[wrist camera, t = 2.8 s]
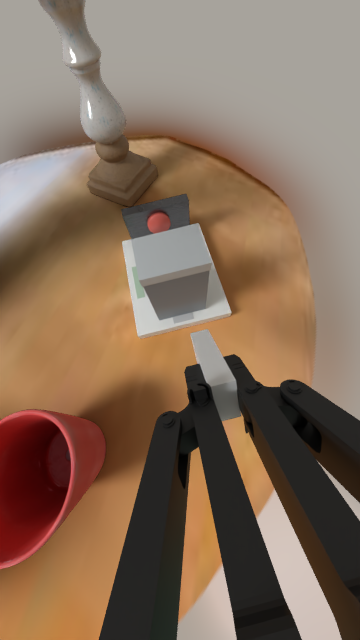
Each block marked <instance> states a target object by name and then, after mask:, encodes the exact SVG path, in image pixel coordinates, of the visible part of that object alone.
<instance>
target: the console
mask: <svg viewBox="0 0 360 640" xmlns="http://www.w3.org/2000/svg"><path fill="white" fill-rule="evenodd" d="M121 211H122V216H123V219H124V221H125V224H126V226H127V229H128V231H129V234H130V236H131V239H135V238H139V237H143V236H147V235H151V234H155V233H159V232H164V231H168V230H172V229H176V228H180V227H184V226H188V225H190V223H189V200H188V197H187V195H186V194H183V195H179V196H175V197H171V198H166V199H162V200H158V201H154V202H150V203H146V204H141V205H137V206H133V207H129V208H125V209H121ZM198 226H199V229H200V231H201V228H200V225H199V223H198ZM201 234H202V237H203V240H204V242H205V239H204V236H203V233H202V231H201ZM131 239H130V240H126V241H122V245H123V251H124V257H125V263H126V268H127V274H128V280H129V286H130V292H131V298H132V304H133V310H134V316H135V322H136V328H137V334H138V337H139V338H140V339H143V338H147V337H151V336H155V335H158V334H162V333H166V332H170V331H174V330H178V329H182V328H186V327H190V326H194V325H198V324H202V323H206V322H210V321H214V320H218V319H222V318H226V317H230V315H231V313H232V312H231V310H230V307H229V304H228V302H227V299H226V296H225V293H224V291H223V288H222V285H221V282H220V280H219V277H218V274H217V272H216V269H215V266H214V263H213V261H212V258H211V255H210V253H209V250H208V247H207V244H206V242H205V245H206V248H207V251H208V253H209V256H210V259H211V262H212V266H211V270H210V272H209V281H208V290H207V299H206V309H203V310H199V311H195V312H191V313H187V314H183V315H179V316H175V317H171V318H167V319H163V320H159V319H158V317H157V315H156V313H155V310H154V308H153V306H152V304H151V302H150V300H149V298H148V296H147V294H146V292H145V289H144V287H142V286H141V284H140V282H139V279H138V273H137V268H136V263H135V258H134V252H133V247H132V242H131Z"/></svg>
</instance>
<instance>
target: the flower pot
mask: <svg viewBox="0 0 360 640" xmlns="http://www.w3.org/2000/svg"><path fill="white" fill-rule="evenodd" d="M105 454H106V442H105V438H104V435H103V433H102V431H101V429H100V428H99V427H98V426H97V425H96V424H95V423H93V422H92V421H89V420H86V419H83V418H79V417H76V416H72V415H67V414H62V413H57V412H52V411H46V410H38V409H29V410H23V411H19V412H16V413H13V414H11V415H9V416H7V417H5V418H3V419H2V420H0V569H3V568H7V567H10V566H13V565H16V564H18V563H20V562H22V561H24V560H25V559H27V558H29V557H30V556H32V555H33V554H34V553H35V552H37V551H38V550H39V549H40V548H41V547H42V546H43V545H44V544H45V543H46V542H47V541H48V540H49V539H50V537H51V536H52V535H53V534H54V533H55V531H56V530H57V529H58V528H59V526H60V525H61V524H62V523H63V521H64V520H65V519H66V517H67V516H68V515H69V513H70V512H71V511H72V510H73V508H74V507H75V506H76V504H77V503H78V502H79V500H80V499H81V498H82V496H83V495H84V494H85V492H86V491H87V490H88V488H89V487H90V486H91V484H92V483H93V481H94V480H95V478H96V476H97V475H98V473H99V472H100V470H101V468H102V466H103V463H104V459H105Z"/></svg>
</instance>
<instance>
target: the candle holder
mask: <svg viewBox="0 0 360 640" xmlns="http://www.w3.org/2000/svg"><path fill="white" fill-rule="evenodd" d="M39 2H40V4H41V6H42V7H43V9H44V10H45V11H46V12H47V13H48V14H49V16H50V17H51V18H52V19H53V21H54V22H55V24H56V26H57V28H58V30H59V33H60V35H61V39H62V46H63V56H62V58H63V62H64V63H65V65H67V66H68V67H70V70H71V72H72V73H73V74H74V75H75V76H76V78H77V80H78V82H79V85H80V93H81V103H80V119H81V124H82V127H83V129H84V131H85V133H86V134H87V136H89V137H90V138H91V139H93V140H94V141H96V145H95V148H96V152H97V154H98V156H99V157H100V158H101V159H100V161H99V163H98V164H97V165H96V166H95V168H94V169H93V170H92V171H91V172H90V173H89V176H88V177H89V179H90V180H89V182H88V183H87V186H88V188H89V190H90V192H91V193H93V194H95V195H97V196H100V197H102V198H105V199H108V200H110V201H113V202H116V203H118V204H121V205H123V206H127V207H132V206H133V205H134V204H135V203H136V202H137V200H138V199H139V198H140V197H141V196H142V194H143V193H144V192H145V191H146V190H147V188H148V187H149V186H150V185H151V184H152V182H153V181H154V180H155V179H156V177H157V176H158V172H157V166H155V165H153V164H151V161H150V160H149V159H148V158H146V157H143V156H140V155H137V154H134V153H132V152H131V151H129V143H128V140H127V139H126V137H125V136H124V135H123V132H124V130H125V127H126V119H125V114H124V112H123V110H122V108H121V106H120V104H119V103H118V102H117V100H116V99H115V98H114V96H113V95H112V94H111V93H110V91H109V90H108V89H107V87H106V86H105V84H104V82H103V81H102V79H101V75H100V60H99V59H100V57H101V51H100V48H99V47H98V46H97V44H96V43H95V42H94V40H93V39H92V37H91V35H90V34H89V32H88V29H87V26H86V22H85V15H84V7H85V0H39Z"/></svg>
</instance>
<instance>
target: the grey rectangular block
mask: <svg viewBox="0 0 360 640" xmlns="http://www.w3.org/2000/svg"><path fill="white" fill-rule="evenodd" d="M131 242H132V247H133V252H134V258H135V263H136V268H137V273H138V279H139V282H140V284H141V286H142V287H144V289H145V292H146V294H147V296H148V298H149V300H150V302H151V304H152V306H153V308H154V310H155V313H156V315H157V317H158V319H159V320H163V319H167V318H171V317H175V316H179V315H183V314H187V313H191V312H195V311H199V310H203V309H206V299H207V290H208V281H209V272H210V270H211V266H212V262H211V259H210V256H209V253H208V251H207V248H206V245H205V242H204V240H203V237H202V234H201V231H200V229H199V226H198V223H196V224H192V225H188V226H184V227H180V228H176V229H172V230H168V231H164V232H159V233H155V234H151V235H147V236H143V237H139V238H135V239H131Z"/></svg>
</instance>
